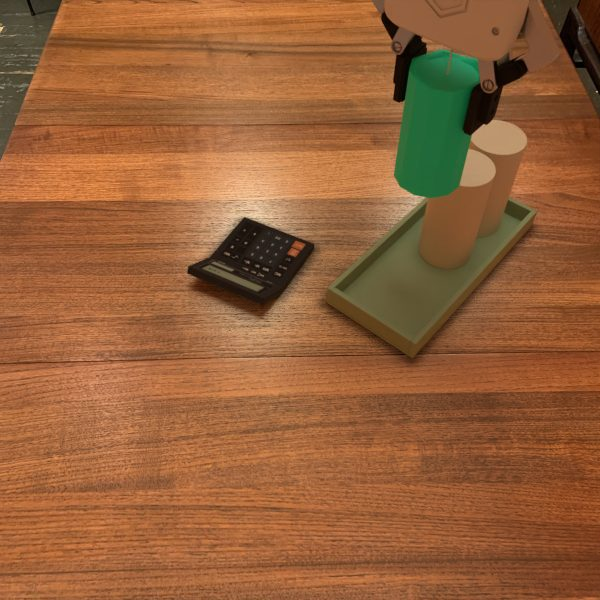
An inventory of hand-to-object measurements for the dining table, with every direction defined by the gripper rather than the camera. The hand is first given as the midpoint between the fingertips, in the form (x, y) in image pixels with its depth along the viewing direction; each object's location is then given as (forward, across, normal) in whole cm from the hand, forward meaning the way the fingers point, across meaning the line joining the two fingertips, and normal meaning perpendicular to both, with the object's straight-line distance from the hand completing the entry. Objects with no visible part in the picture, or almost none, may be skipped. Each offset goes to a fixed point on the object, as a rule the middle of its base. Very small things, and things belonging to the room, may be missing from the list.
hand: (440, 108), depth 53 cm
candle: (+7, 0, 0) cm, 7 cm away
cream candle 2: (+23, 0, +15) cm, 27 cm away
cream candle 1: (+23, 0, +8) cm, 25 cm away
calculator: (+24, -15, -8) cm, 29 cm away
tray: (+24, 0, +6) cm, 24 cm away
